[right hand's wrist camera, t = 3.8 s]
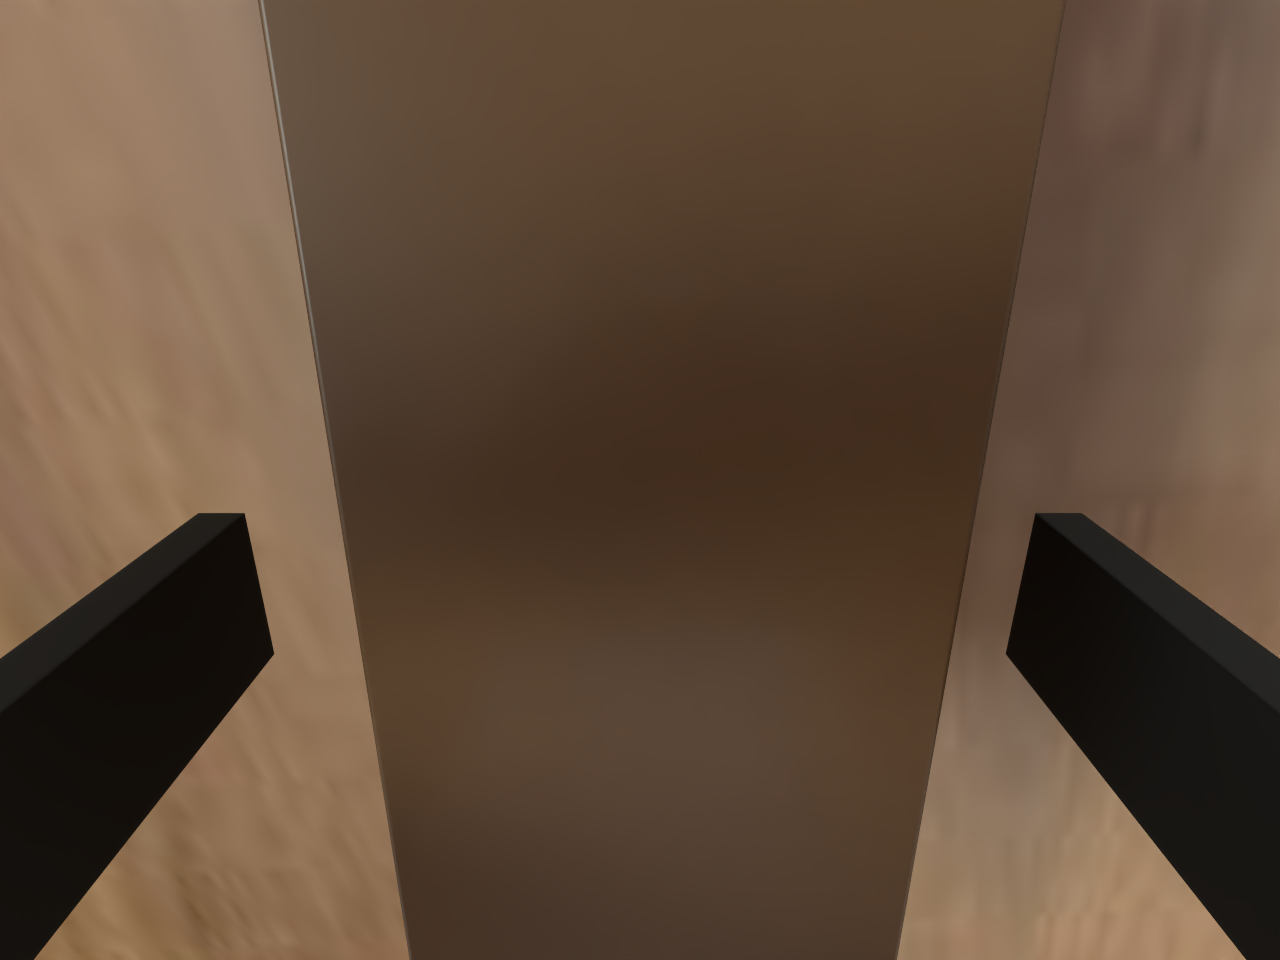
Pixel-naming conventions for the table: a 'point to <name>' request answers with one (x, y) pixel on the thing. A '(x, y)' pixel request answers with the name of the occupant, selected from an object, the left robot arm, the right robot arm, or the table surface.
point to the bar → (657, 440)
